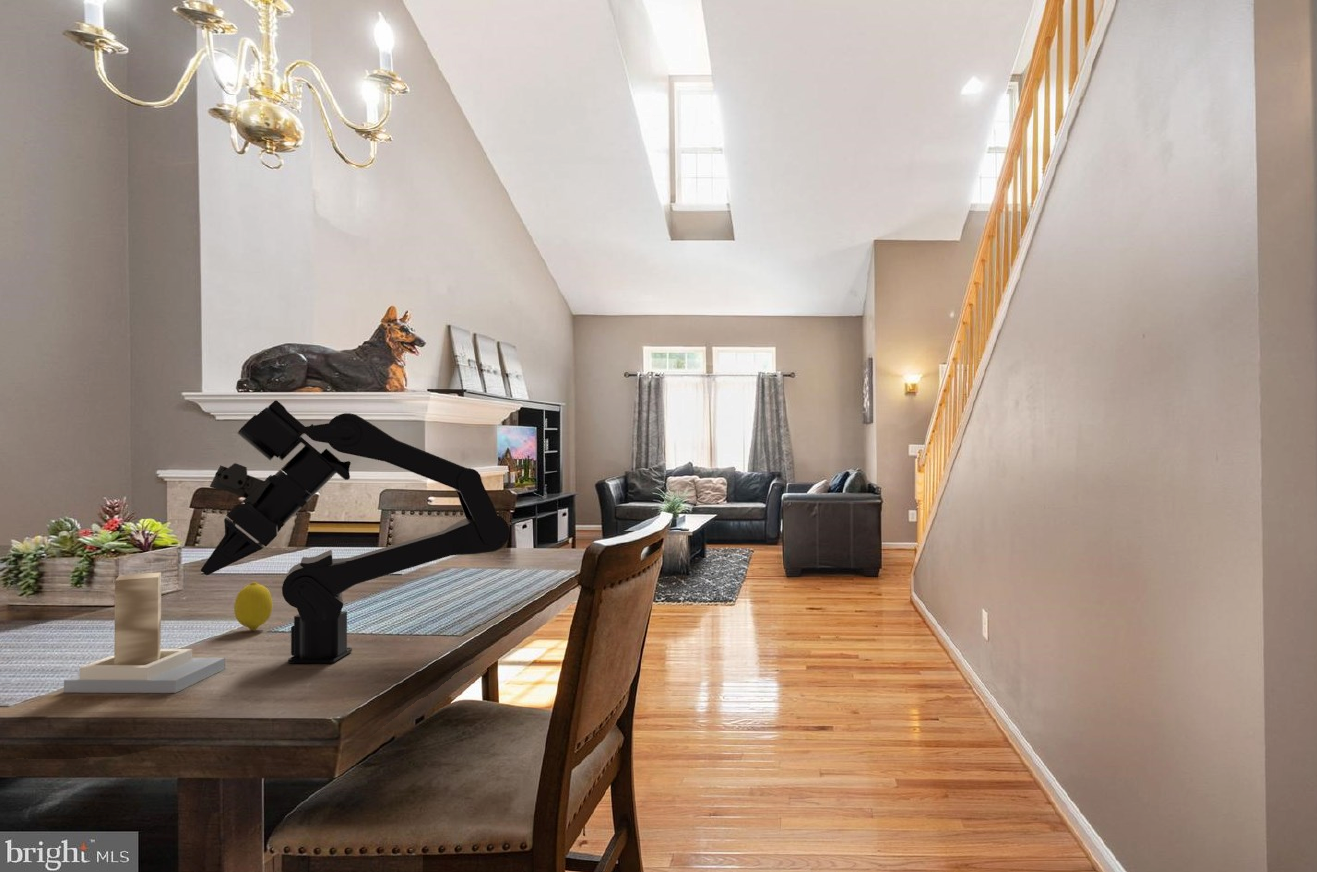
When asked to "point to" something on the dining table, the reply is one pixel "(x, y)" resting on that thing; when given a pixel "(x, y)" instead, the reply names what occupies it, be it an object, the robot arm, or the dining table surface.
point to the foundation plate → (145, 674)
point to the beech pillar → (137, 619)
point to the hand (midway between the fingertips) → (207, 569)
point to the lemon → (253, 606)
